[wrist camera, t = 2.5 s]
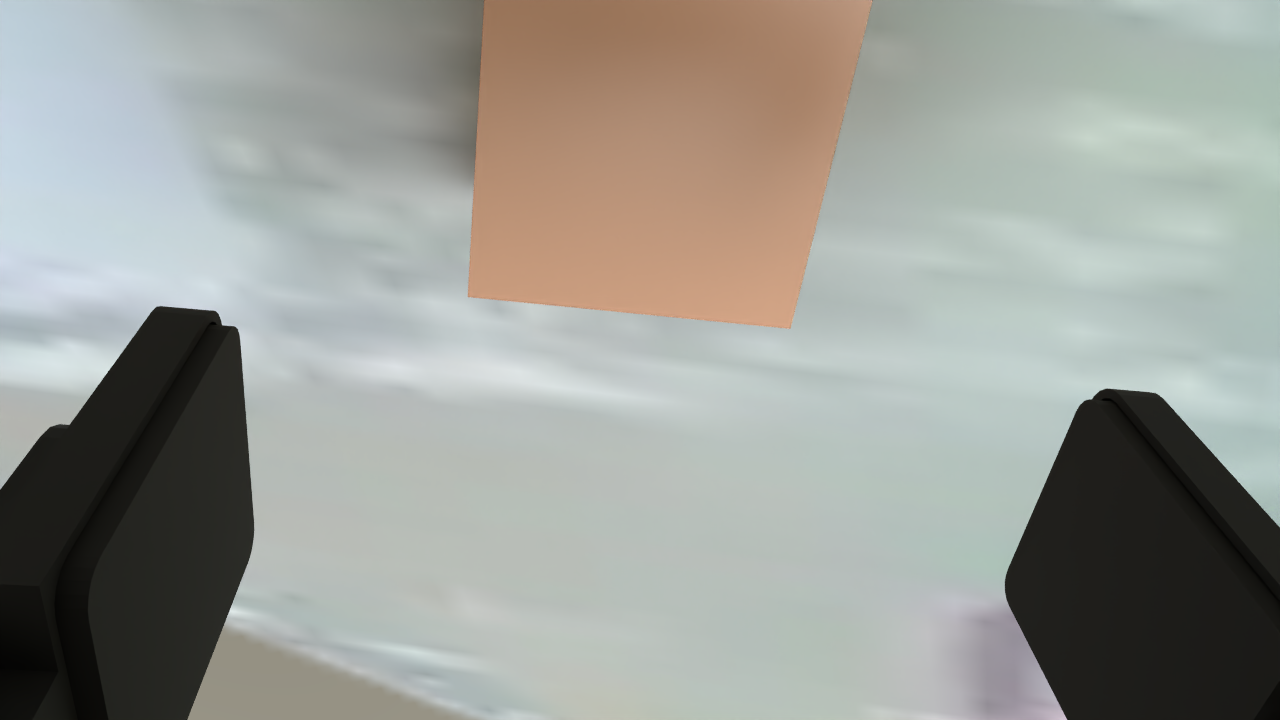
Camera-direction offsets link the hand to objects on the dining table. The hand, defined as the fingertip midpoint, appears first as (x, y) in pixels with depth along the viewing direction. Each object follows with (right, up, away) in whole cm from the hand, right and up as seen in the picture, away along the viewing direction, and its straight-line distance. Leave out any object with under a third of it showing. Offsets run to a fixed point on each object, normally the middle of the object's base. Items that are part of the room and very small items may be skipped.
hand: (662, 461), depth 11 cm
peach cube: (0, +7, +11) cm, 13 cm away
